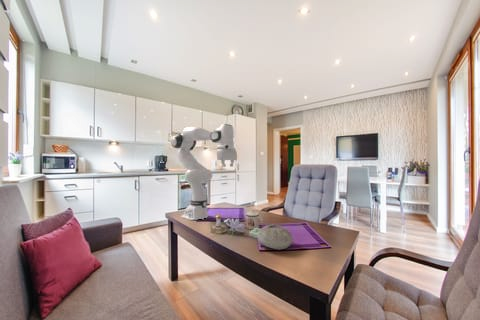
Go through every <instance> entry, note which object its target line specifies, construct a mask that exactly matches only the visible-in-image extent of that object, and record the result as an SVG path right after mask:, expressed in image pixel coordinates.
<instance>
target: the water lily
mask: <svg viewBox="0 0 480 320" xmlns="http://www.w3.org/2000/svg"><path fill="white" fill-rule="evenodd" d="M227 219H229V222H230V225H229V224H228V223H226V224H225V225H226V226H227V225H228V226H230V228H228V231H229V232H232V233H231V237H233V236H234V232H235V231H237V232H239V233H243V234H245V233H246V232H245V231H244V230H242V229H243V228H245V227H246V224H244V223H243V222H242V223H241V222H240V218H236V219H235V220H233V219H234V218H229V217H228V218H227ZM231 219H232V221H231Z"/></svg>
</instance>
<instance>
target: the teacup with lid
mask: <svg viewBox="0 0 480 320" xmlns="http://www.w3.org/2000/svg"><path fill="white" fill-rule="evenodd" d="M245 217H246V218H245V222H246V223H245V225H246V226H245V227H246V228H247V229H248V230H249V229H250V230H253V229H255V228H259V229H260V226H261V225H262V224H263V218H261V217H260V213H259V212H257V211H255V210H254V209H251V210H250V211H248V212H246V213H245Z"/></svg>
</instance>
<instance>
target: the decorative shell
mask: <svg viewBox="0 0 480 320" xmlns="http://www.w3.org/2000/svg"><path fill="white" fill-rule="evenodd" d="M259 229H260V231H259V232H258V238H257V239H258V241H259V243H260V245H262V246H264V247H266V248H271V249H272V250H273V249H274V250H276V251H278V250H284V249H285V250H286V248H287V249H288V247H290V246H291V244H292V242H293V236H292V233H291V232H290V231H289V230H288V229H287V228H285V227H284V226H282V225H277V224H273V223H272V224H268V225H267V224H266V225H265V226H263V227H261V228H259Z"/></svg>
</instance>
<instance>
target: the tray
mask: <svg viewBox="0 0 480 320" xmlns="http://www.w3.org/2000/svg"><path fill="white" fill-rule="evenodd" d="M260 229H261V228H260V227H259V228H255V229H251V230H250V231H248V238H249V237H250V238H255V239H258V232H259V231H260Z"/></svg>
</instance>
